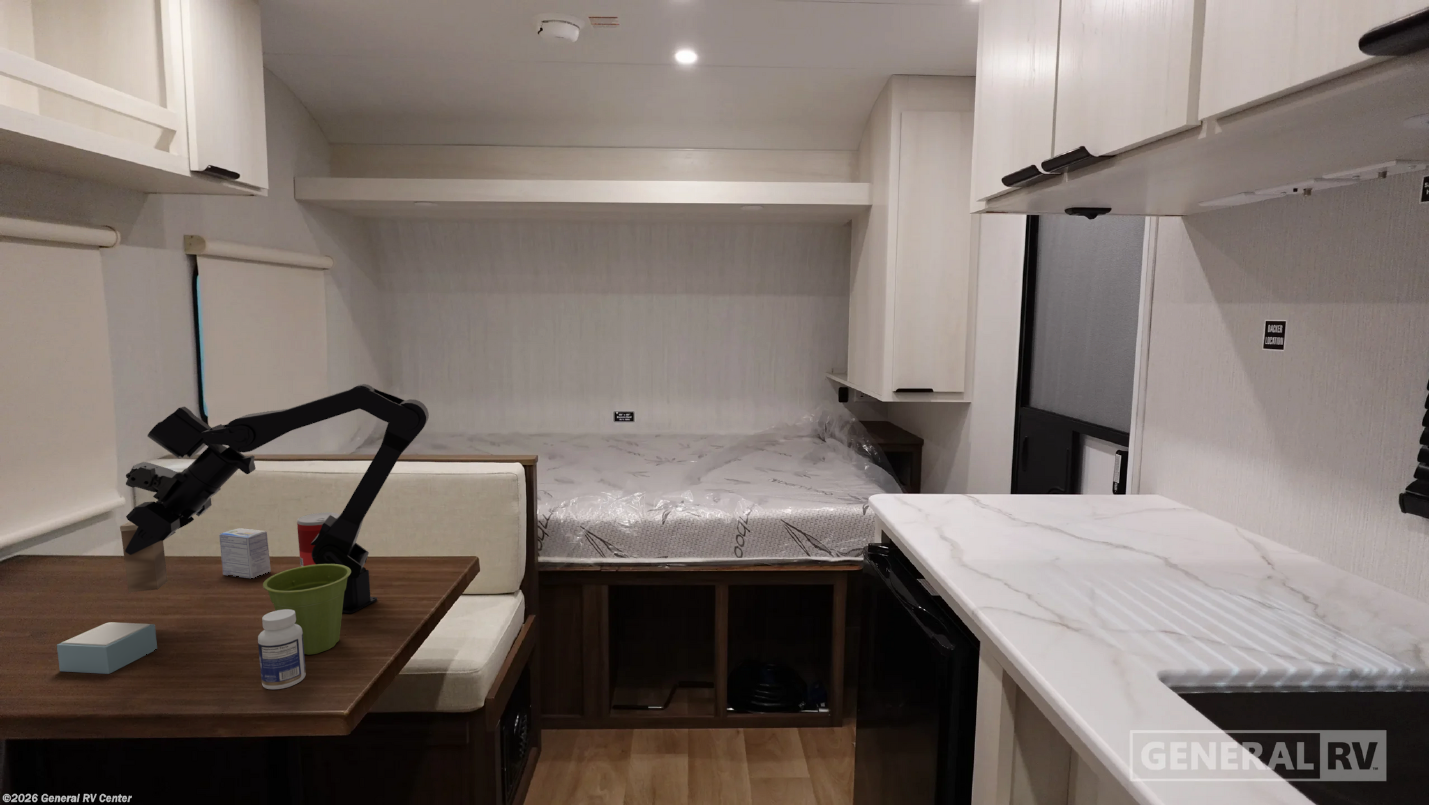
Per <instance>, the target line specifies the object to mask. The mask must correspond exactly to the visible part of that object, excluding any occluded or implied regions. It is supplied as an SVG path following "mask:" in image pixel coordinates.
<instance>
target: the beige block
mask: <svg viewBox="0 0 1429 805" xmlns="http://www.w3.org/2000/svg"><path fill="white" fill-rule="evenodd" d="M137 528H138V526H136V525H135V524H133V523H132V522H130V521H129V520H127V521H126V522H125V523H123V524H122V525H120V526H119V529H120V536H121V544H122V550H123V559H124V567H125V569H124V570H125V577H126V582H127V583H126V584H127V592H128V593H138V592H147V591H156V590H159V589H160V588H162V587H163V586H164V585H165V584H166V583H168V581H169V580H168V574H167V564H166V557H165V546H164V541H159V542H157V543H155V544H153V545H151V546H148V547H146V548H144V549H142V550H140V551H138V552H136V553H134V554H132V555H129V554H128V553H126V552H125V549H126V548H127V546H128V544H129V542H130V540H131V539H132V537H133V535H134V533H135V532H136V530H137Z"/></svg>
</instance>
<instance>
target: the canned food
mask: <svg viewBox="0 0 1429 805" xmlns="http://www.w3.org/2000/svg"><path fill="white" fill-rule="evenodd" d="M340 514H341V513H337V512H316V513H311V514H307V515H303V516H300V517H298V518H297V522H296V526H297V528H296V530H297V539H298V540H297V541H298V550H299V553H298V554H299V564H300V566H299V567H302V566H308V565H316V564H315V563H314V561H313V559H312V556H311V554H312V550H313V548H314V546H315V545H311V543H312V541H313V540H314V539H315V538H316V536H317V535H318V534H319V532H320V530H321V527H322V525H323V523H324V522H325V520H326V519H327V518H328V517H329V515H331V516H333V517H334V518H336V519H337V518H338V517H339V516H340Z"/></svg>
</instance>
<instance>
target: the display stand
mask: <svg viewBox="0 0 1429 805" xmlns="http://www.w3.org/2000/svg"><path fill="white" fill-rule="evenodd" d="M56 648H57V659H58V666H59V671H60V672H68V673H69V672H71V673H72V672H73V673H88V674H90V673H91V674H104V675H105V674H106V675H109V674H111V673H114V672H115V671H117V670H119V669H121V668H124V667H125V666H127V665H129V664H131V663H133V662H135V661H137V660H139V659H140V658H144V657H145V656H147V655H149V654H151V653H152V652H155V651H156V650H155V649H157V650H158V645H157V632H156V625H155V624H154V623H136V622H135V623H134V622H114V621H112V622H111V621H110V622H106V623H103V624H101V625H99V626H96V627H94V628H92V629H89V630H87V631H85V632H82V633H80V634H78V635H75V636H74V637H71V638H69V639H67V640H65V641H64V640H63V641H62V642H60V643H57V644H56ZM154 650H155V651H154ZM146 654H147V655H146Z"/></svg>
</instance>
